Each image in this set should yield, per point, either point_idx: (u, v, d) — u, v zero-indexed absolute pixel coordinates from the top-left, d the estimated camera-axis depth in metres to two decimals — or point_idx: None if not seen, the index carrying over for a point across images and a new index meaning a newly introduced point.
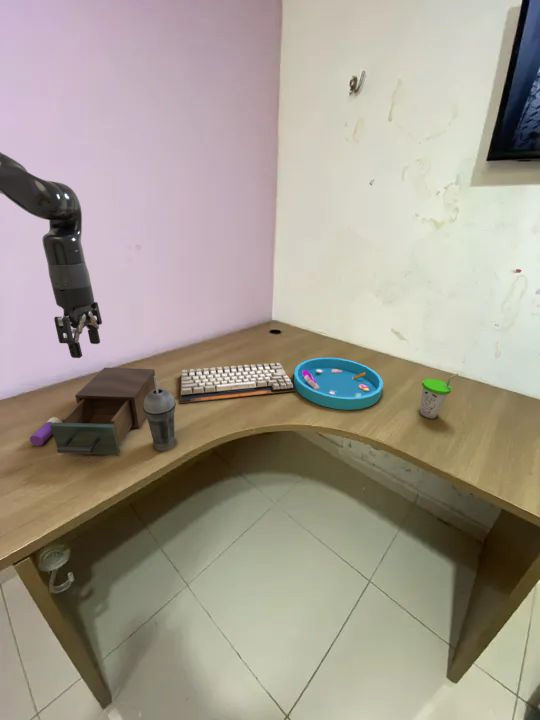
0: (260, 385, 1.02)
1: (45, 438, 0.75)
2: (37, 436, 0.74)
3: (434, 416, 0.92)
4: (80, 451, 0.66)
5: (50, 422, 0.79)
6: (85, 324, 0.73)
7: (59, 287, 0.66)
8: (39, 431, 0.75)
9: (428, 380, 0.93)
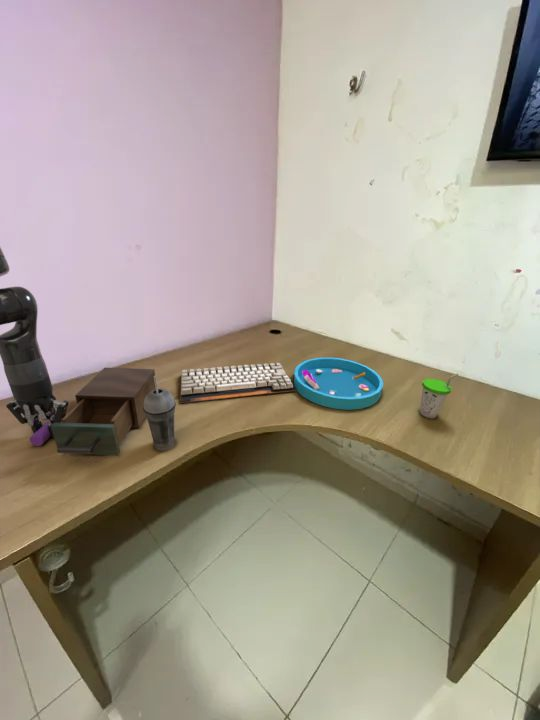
0: (260, 385, 1.02)
1: (43, 436, 0.75)
2: (34, 436, 0.74)
3: (434, 416, 0.92)
4: (80, 451, 0.66)
5: None
6: (36, 413, 0.74)
7: None
8: (36, 432, 0.75)
9: (428, 380, 0.93)
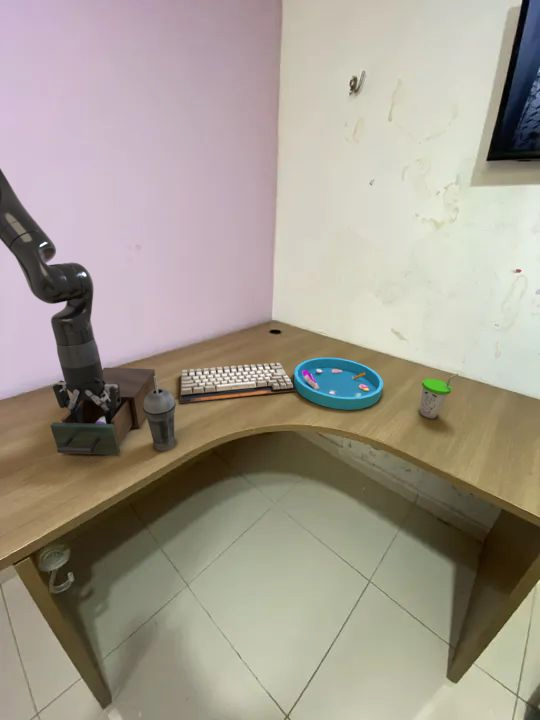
0: (260, 385, 1.02)
1: None
2: None
3: (434, 416, 0.92)
4: (80, 451, 0.66)
5: (98, 421, 0.76)
6: (86, 399, 0.70)
7: None
8: None
9: (428, 380, 0.93)
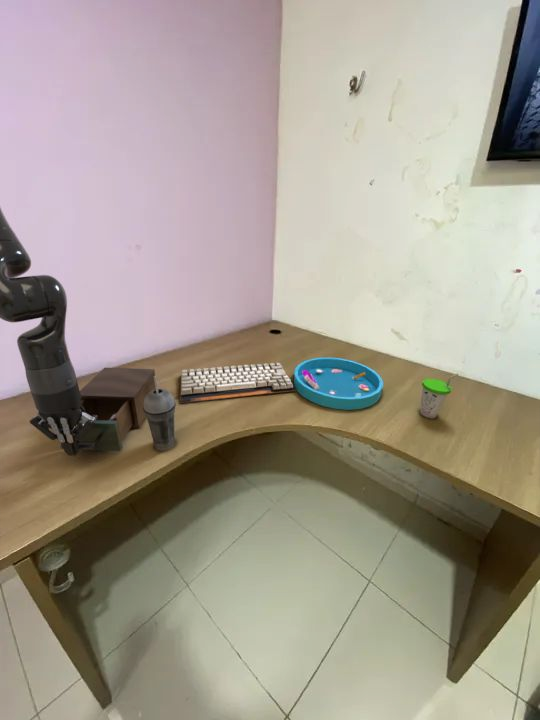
0: (260, 385, 1.02)
1: None
2: None
3: (434, 416, 0.92)
4: (83, 447, 0.67)
5: None
6: (62, 426, 0.62)
7: None
8: None
9: (428, 380, 0.93)
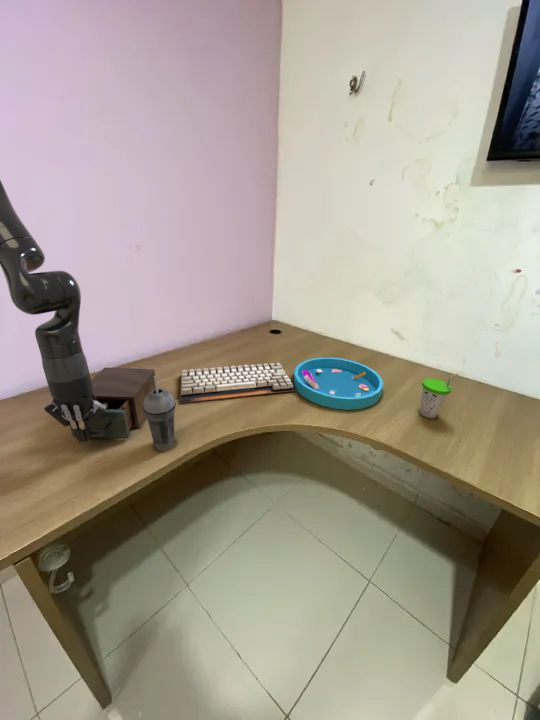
0: (260, 385, 1.02)
1: None
2: None
3: (434, 416, 0.92)
4: (94, 434, 0.71)
5: None
6: (74, 414, 0.66)
7: None
8: None
9: (428, 380, 0.93)
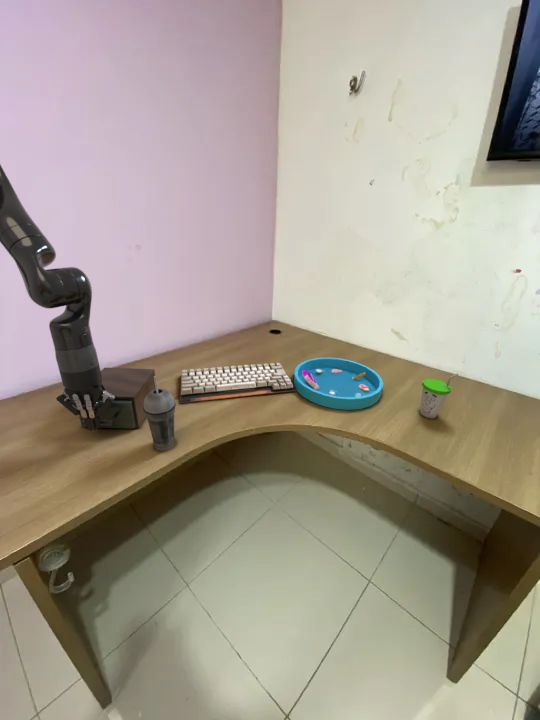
0: (260, 385, 1.02)
1: None
2: None
3: (434, 416, 0.92)
4: (102, 423, 0.75)
5: None
6: (85, 403, 0.70)
7: None
8: None
9: (428, 380, 0.93)
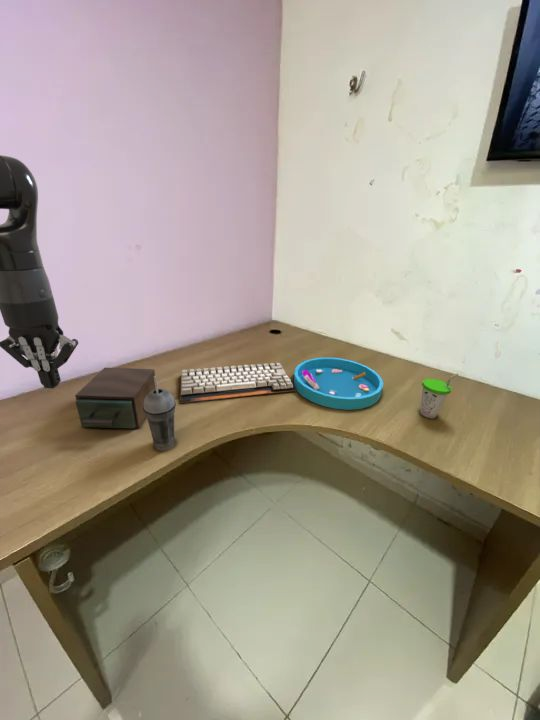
0: (260, 385, 1.02)
1: None
2: None
3: (434, 416, 0.92)
4: (102, 423, 0.75)
5: None
6: (37, 350, 0.54)
7: None
8: None
9: (428, 380, 0.93)
